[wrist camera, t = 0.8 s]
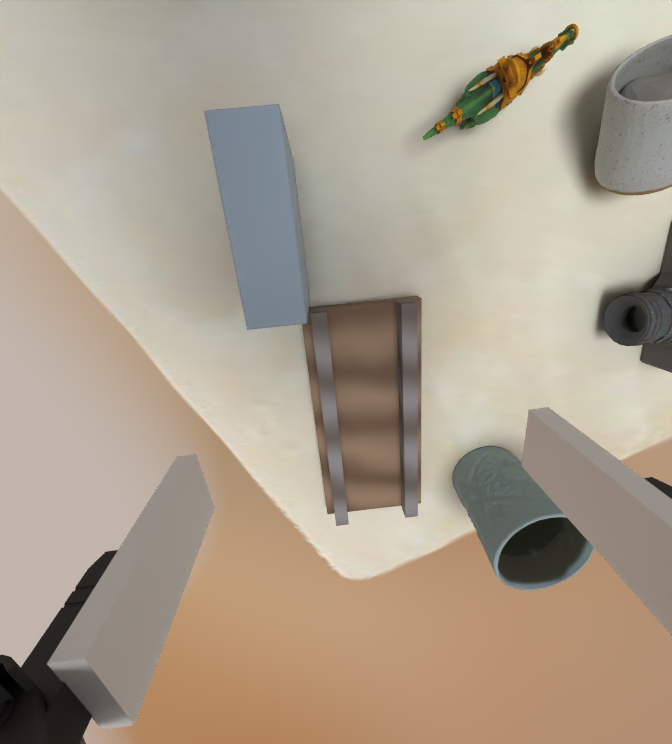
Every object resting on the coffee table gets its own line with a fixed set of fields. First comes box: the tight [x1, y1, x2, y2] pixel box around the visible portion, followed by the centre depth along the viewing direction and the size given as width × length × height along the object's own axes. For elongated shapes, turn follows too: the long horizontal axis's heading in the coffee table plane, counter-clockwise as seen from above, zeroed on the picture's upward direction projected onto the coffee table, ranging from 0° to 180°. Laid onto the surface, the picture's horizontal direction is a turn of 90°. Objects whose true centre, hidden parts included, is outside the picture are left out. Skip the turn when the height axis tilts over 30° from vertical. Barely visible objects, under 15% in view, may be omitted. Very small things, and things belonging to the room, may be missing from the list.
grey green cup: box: [453, 446, 594, 590], centre depth 37 cm, size 10×10×12 cm
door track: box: [302, 296, 421, 526], centre depth 37 cm, size 26×12×4 cm, turn 5°
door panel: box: [204, 104, 310, 330], centre depth 25 cm, size 12×4×12 cm, turn 5°
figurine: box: [423, 24, 578, 140], centre depth 24 cm, size 3×12×8 cm, turn 122°
